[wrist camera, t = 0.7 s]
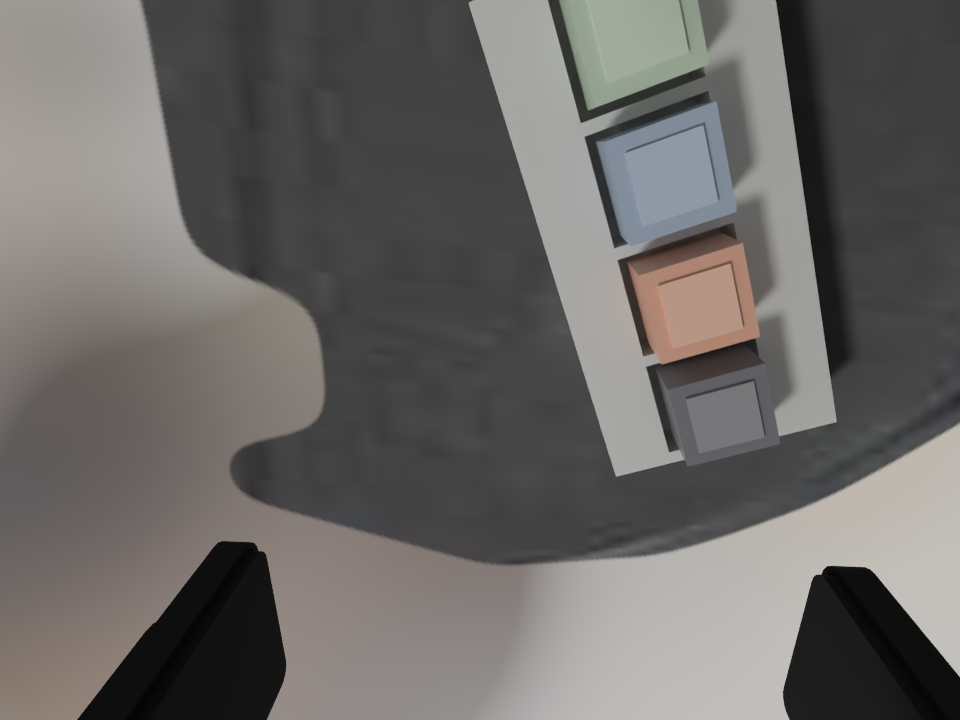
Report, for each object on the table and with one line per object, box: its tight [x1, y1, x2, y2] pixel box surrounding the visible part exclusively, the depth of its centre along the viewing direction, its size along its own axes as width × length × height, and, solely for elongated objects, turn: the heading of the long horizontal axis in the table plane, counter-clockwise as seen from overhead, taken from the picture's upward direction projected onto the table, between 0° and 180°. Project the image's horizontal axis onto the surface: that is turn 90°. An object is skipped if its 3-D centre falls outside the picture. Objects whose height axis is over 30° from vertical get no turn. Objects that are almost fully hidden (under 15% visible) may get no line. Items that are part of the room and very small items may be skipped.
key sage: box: [559, 0, 709, 111], centre depth 23 cm, size 5×5×3 cm
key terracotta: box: [627, 232, 760, 365], centre depth 27 cm, size 5×5×3 cm
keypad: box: [469, 0, 837, 476], centre depth 28 cm, size 12×25×3 cm, turn 20°
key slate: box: [596, 101, 737, 246], centre depth 25 cm, size 5×5×3 cm
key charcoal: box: [655, 342, 780, 466], centre depth 29 cm, size 5×5×3 cm
